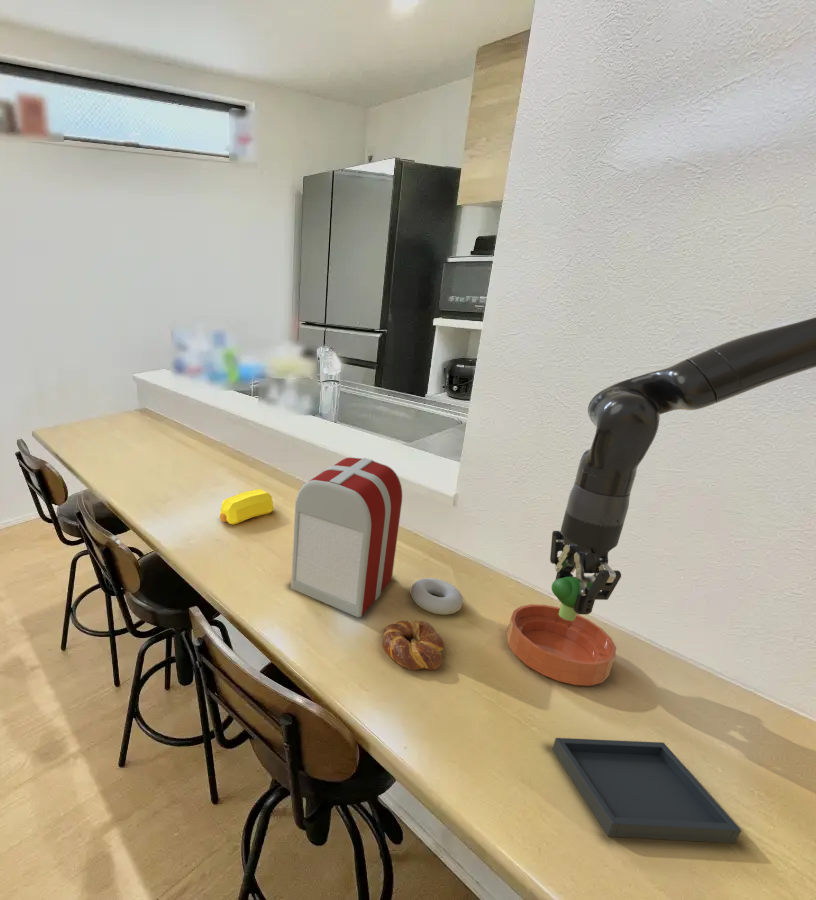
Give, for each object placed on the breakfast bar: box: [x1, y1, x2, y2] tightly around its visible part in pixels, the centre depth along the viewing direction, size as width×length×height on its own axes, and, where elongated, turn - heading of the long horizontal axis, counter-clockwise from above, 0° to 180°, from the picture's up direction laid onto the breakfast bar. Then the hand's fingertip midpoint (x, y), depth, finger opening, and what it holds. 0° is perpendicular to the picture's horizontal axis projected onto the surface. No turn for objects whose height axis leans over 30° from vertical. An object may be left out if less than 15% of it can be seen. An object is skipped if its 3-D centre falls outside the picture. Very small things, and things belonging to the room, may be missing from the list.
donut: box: [410, 577, 464, 616], centre depth 101 cm, size 10×4×10 cm
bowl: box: [506, 603, 617, 687], centre depth 87 cm, size 15×15×5 cm
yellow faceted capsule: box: [219, 488, 274, 526], centre depth 138 cm, size 18×7×8 cm
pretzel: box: [381, 620, 445, 671], centre depth 89 cm, size 12×11×4 cm
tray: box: [552, 737, 742, 844], centre depth 64 cm, size 15×12×2 cm
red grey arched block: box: [290, 456, 403, 618], centre depth 104 cm, size 16×18×27 cm
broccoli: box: [551, 576, 592, 621], centre depth 84 cm, size 7×5×8 cm
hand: (570, 601), depth 84 cm, fingers closed on broccoli, 5 cm apart
